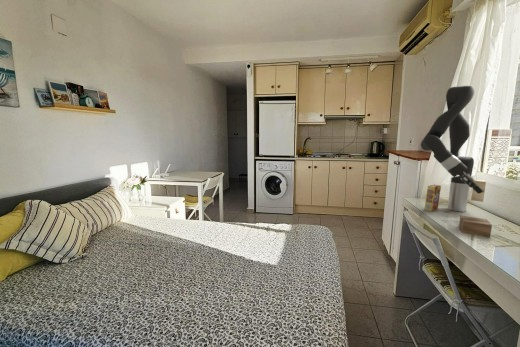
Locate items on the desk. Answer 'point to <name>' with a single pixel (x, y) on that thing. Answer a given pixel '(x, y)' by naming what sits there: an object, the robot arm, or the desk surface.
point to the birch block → (475, 195)
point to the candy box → (432, 197)
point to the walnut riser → (475, 226)
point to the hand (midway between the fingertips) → (480, 191)
